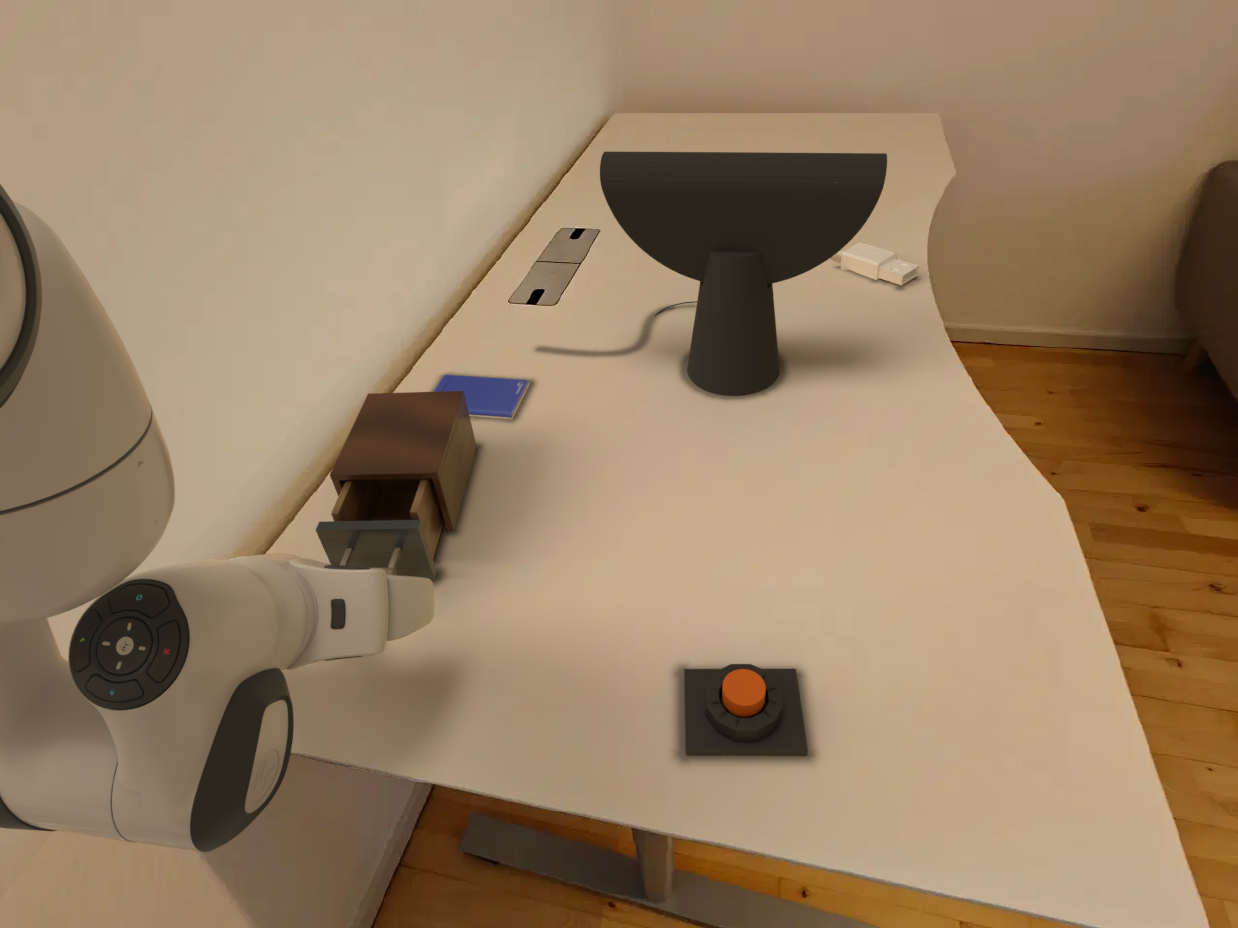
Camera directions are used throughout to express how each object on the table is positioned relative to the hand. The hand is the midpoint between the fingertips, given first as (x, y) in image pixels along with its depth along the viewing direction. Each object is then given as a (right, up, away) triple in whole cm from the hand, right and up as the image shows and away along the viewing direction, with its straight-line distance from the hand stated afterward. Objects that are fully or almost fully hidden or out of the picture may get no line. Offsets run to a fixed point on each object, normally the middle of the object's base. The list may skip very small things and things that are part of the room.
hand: (345, 595), depth 74 cm
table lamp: (+35, +26, +39) cm, 59 cm away
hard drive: (+6, +20, +35) cm, 41 cm away
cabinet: (+1, +9, +22) cm, 24 cm away
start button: (+36, -8, -5) cm, 37 cm away
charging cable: (+60, +46, +60) cm, 97 cm away
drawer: (+1, +3, +14) cm, 14 cm away
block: (+36, -10, -3) cm, 38 cm away
